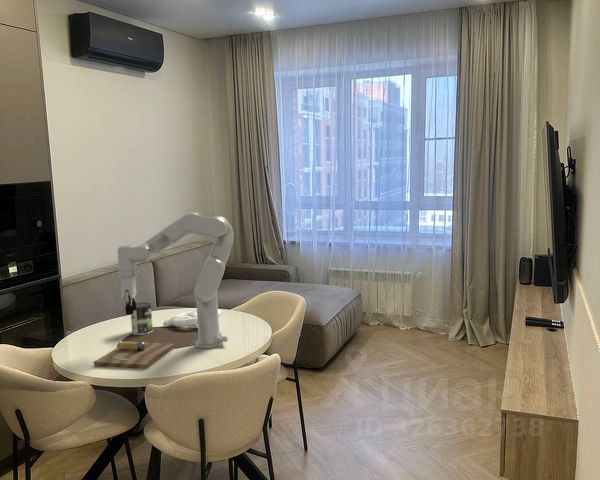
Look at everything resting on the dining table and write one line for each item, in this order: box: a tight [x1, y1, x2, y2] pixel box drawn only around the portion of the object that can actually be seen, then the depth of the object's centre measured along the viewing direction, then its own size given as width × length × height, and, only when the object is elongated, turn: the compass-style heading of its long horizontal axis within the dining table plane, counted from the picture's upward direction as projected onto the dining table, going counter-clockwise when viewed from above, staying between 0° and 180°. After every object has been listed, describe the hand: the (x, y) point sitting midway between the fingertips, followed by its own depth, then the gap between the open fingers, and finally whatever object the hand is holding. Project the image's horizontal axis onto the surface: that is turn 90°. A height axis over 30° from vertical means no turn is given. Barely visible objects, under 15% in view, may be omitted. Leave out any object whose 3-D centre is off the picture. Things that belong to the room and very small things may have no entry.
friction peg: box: [117, 340, 146, 351], centre depth 235 cm, size 12×3×4 cm, turn 77°
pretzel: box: [162, 309, 222, 327], centre depth 279 cm, size 28×24×6 cm
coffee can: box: [130, 302, 154, 336], centre depth 267 cm, size 10×10×14 cm
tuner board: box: [93, 342, 176, 370], centre depth 231 cm, size 24×26×2 cm
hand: (131, 312), depth 239 cm, fingers open, 5 cm apart
